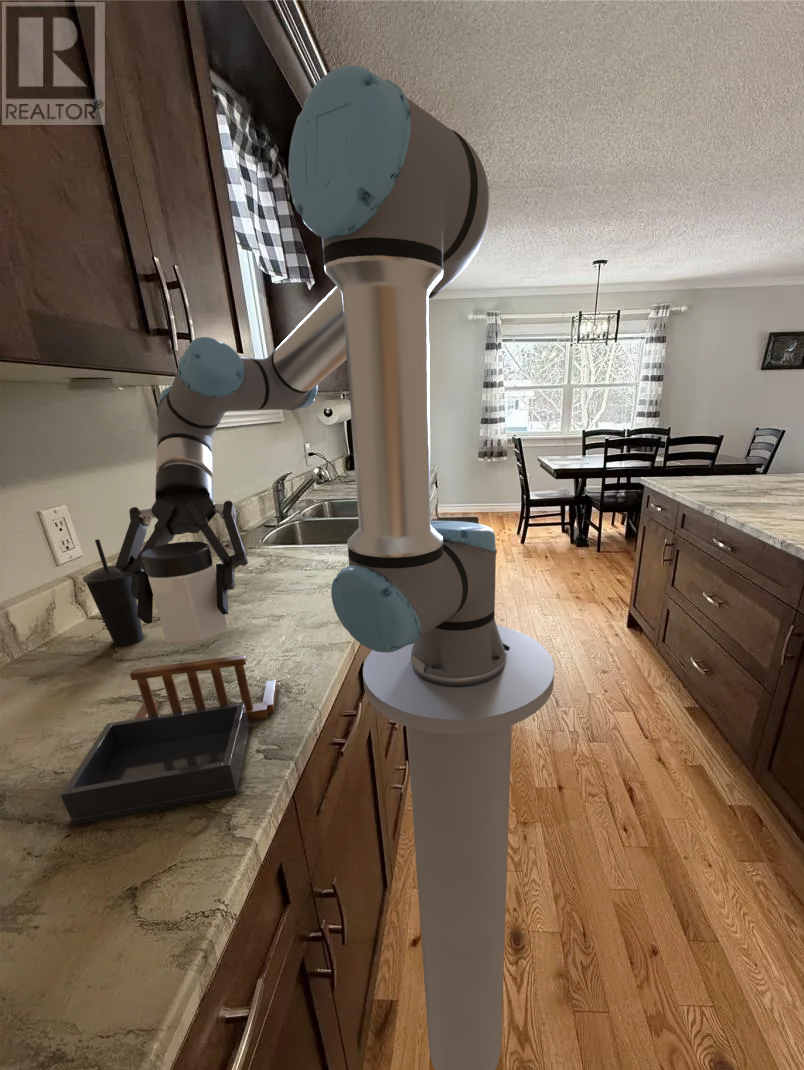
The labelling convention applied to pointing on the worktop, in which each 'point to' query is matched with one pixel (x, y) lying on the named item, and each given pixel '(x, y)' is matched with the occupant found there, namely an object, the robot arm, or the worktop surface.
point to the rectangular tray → (159, 763)
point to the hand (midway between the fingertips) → (184, 615)
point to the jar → (184, 590)
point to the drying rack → (191, 669)
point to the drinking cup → (115, 602)
